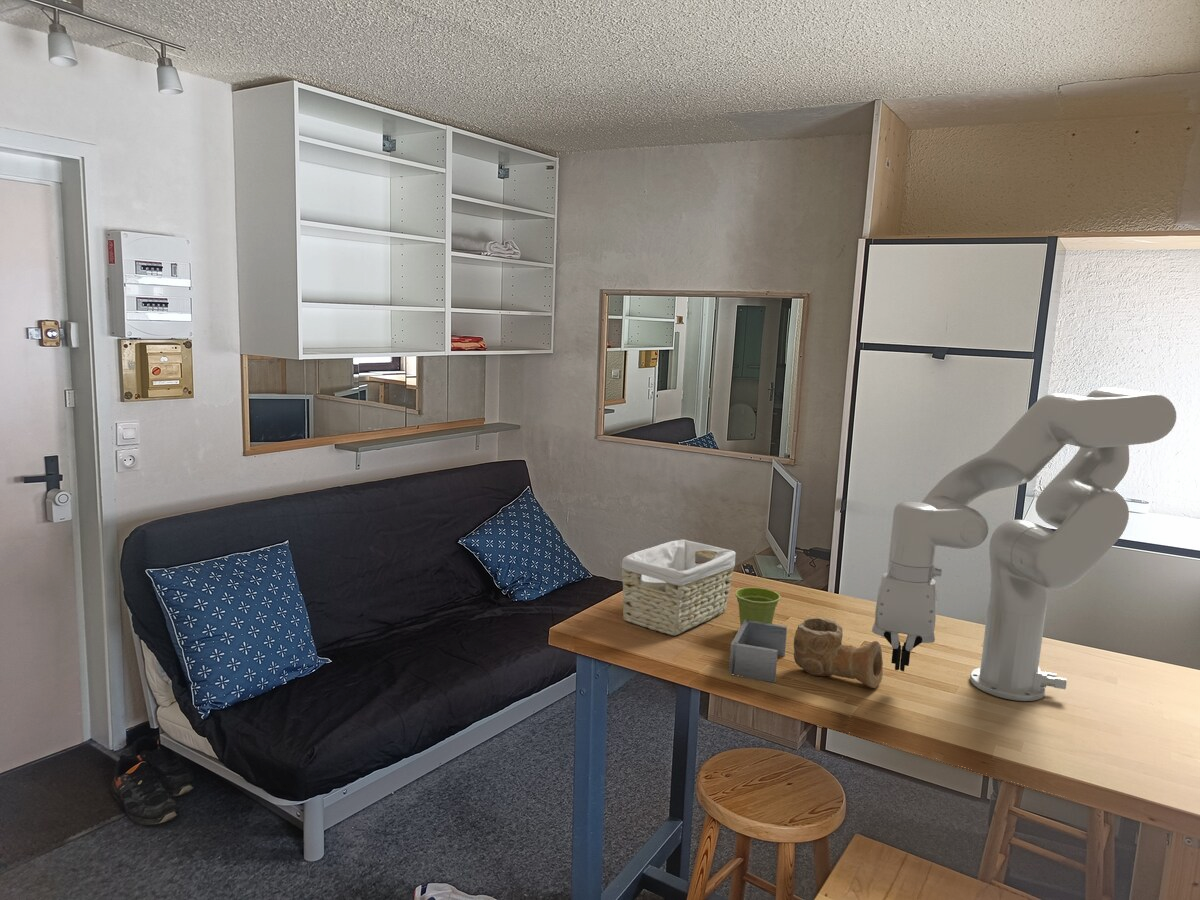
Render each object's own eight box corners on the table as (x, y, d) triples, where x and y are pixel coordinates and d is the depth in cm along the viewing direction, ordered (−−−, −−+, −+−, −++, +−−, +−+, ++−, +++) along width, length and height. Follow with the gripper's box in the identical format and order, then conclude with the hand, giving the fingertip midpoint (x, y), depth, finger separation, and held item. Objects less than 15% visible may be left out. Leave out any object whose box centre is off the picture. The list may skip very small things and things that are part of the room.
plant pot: (754, 645, 170) (757, 604, 169) (723, 629, 178) (726, 591, 176) (786, 636, 175) (789, 597, 174) (755, 622, 183) (758, 584, 182)
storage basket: (675, 595, 199) (679, 536, 196) (735, 612, 189) (739, 550, 187) (615, 622, 180) (618, 556, 178) (677, 642, 170) (681, 573, 168)
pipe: (875, 698, 148) (881, 645, 147) (785, 677, 155) (789, 626, 154) (883, 679, 156) (888, 629, 155) (797, 660, 163) (801, 612, 162)
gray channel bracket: (784, 654, 166) (787, 626, 165) (774, 682, 153) (776, 652, 152) (742, 647, 169) (744, 619, 168) (728, 674, 156) (730, 644, 155)
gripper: (953, 571, 149) (942, 667, 152) (867, 560, 154) (857, 653, 157) (956, 583, 142) (944, 684, 145) (865, 571, 147) (855, 668, 150)
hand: (899, 667), depth 151 cm, fingers closed
